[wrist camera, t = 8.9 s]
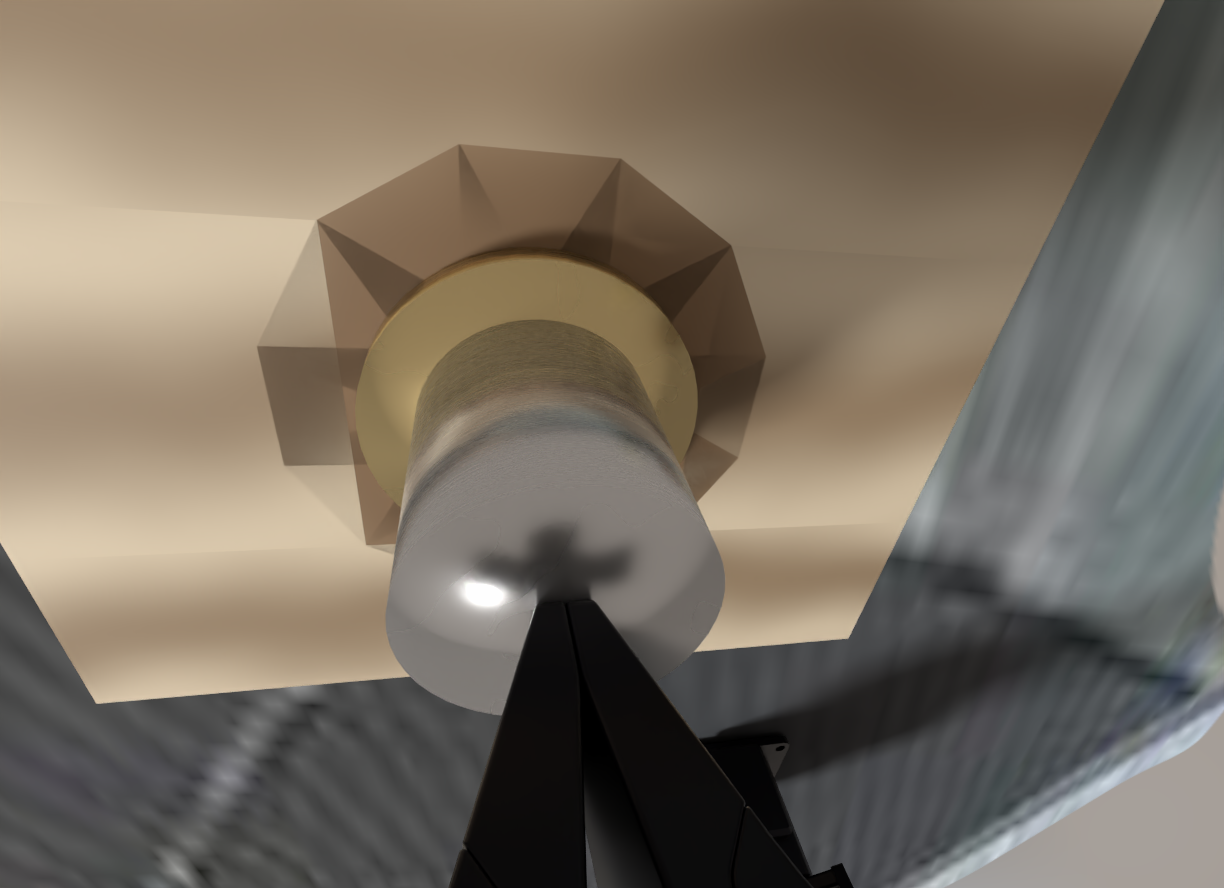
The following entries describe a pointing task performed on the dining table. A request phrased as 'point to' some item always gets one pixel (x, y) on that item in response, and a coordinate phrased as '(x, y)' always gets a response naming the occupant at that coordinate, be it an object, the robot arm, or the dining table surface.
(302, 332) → the jig
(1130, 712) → the dining table surface
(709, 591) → the silver and gold knob
